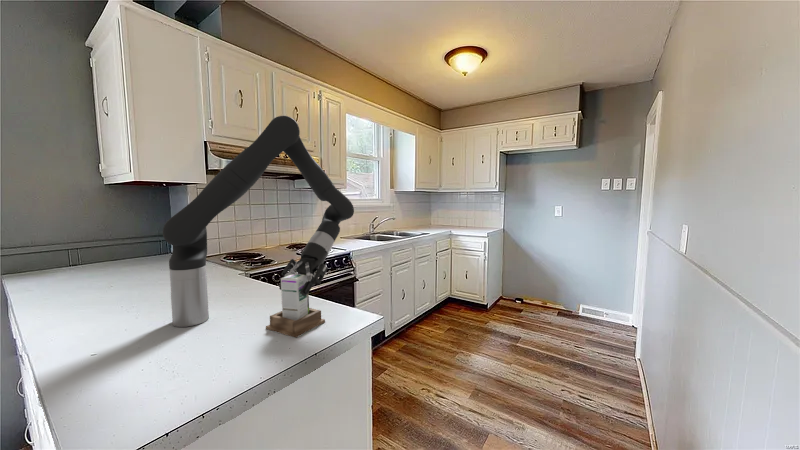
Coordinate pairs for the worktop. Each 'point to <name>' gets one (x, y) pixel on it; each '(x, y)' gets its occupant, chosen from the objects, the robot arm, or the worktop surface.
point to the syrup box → (294, 297)
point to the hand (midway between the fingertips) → (292, 292)
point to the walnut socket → (295, 323)
